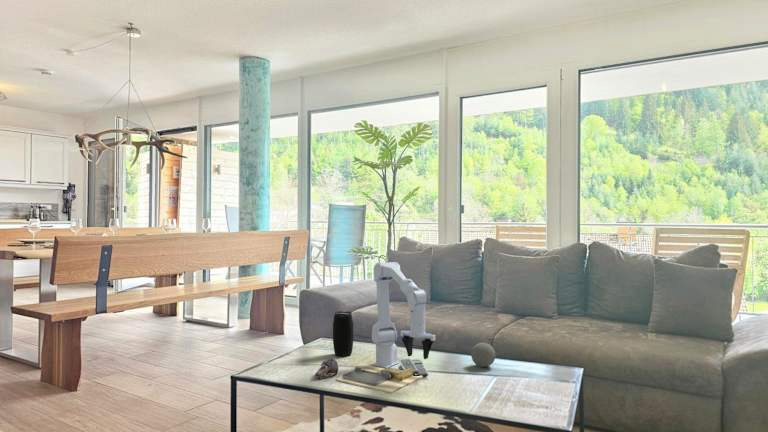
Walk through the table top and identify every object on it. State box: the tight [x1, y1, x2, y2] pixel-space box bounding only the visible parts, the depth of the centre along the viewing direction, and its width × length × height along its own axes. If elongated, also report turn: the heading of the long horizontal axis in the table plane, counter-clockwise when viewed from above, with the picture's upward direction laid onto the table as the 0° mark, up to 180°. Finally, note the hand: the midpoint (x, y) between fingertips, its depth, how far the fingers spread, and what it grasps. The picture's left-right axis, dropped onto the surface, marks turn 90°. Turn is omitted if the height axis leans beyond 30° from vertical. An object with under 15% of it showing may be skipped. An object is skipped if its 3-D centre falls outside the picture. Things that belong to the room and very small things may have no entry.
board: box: [335, 365, 424, 394], centre depth 203 cm, size 22×26×1 cm
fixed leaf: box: [341, 366, 392, 386], centre depth 201 cm, size 10×17×2 cm, turn 56°
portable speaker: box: [332, 310, 354, 358], centre depth 239 cm, size 9×9×20 cm
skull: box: [314, 358, 339, 380], centre depth 207 cm, size 12×8×6 cm, turn 143°
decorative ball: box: [470, 342, 496, 368], centre depth 219 cm, size 10×10×10 cm
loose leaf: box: [377, 366, 414, 381], centre depth 205 cm, size 8×12×3 cm
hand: (417, 357), depth 199 cm, fingers open, 6 cm apart
